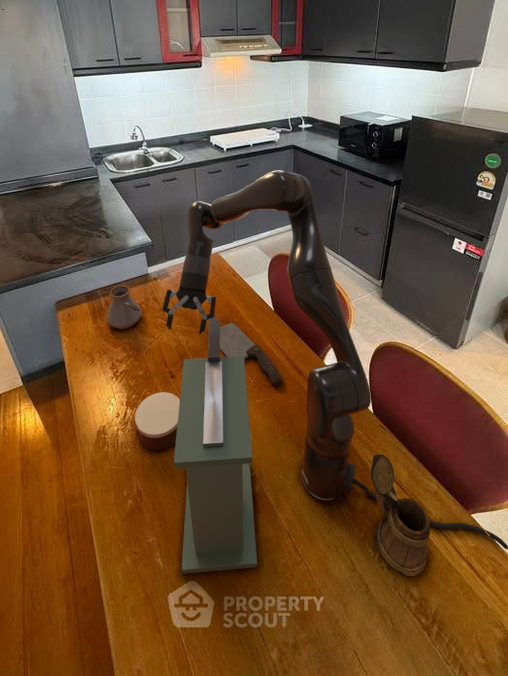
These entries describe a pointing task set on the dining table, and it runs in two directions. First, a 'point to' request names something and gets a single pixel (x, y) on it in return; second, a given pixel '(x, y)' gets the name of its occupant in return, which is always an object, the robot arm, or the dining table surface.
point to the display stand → (216, 473)
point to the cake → (158, 420)
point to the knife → (213, 390)
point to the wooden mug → (399, 523)
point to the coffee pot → (122, 308)
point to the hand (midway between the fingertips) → (185, 331)
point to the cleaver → (246, 350)
